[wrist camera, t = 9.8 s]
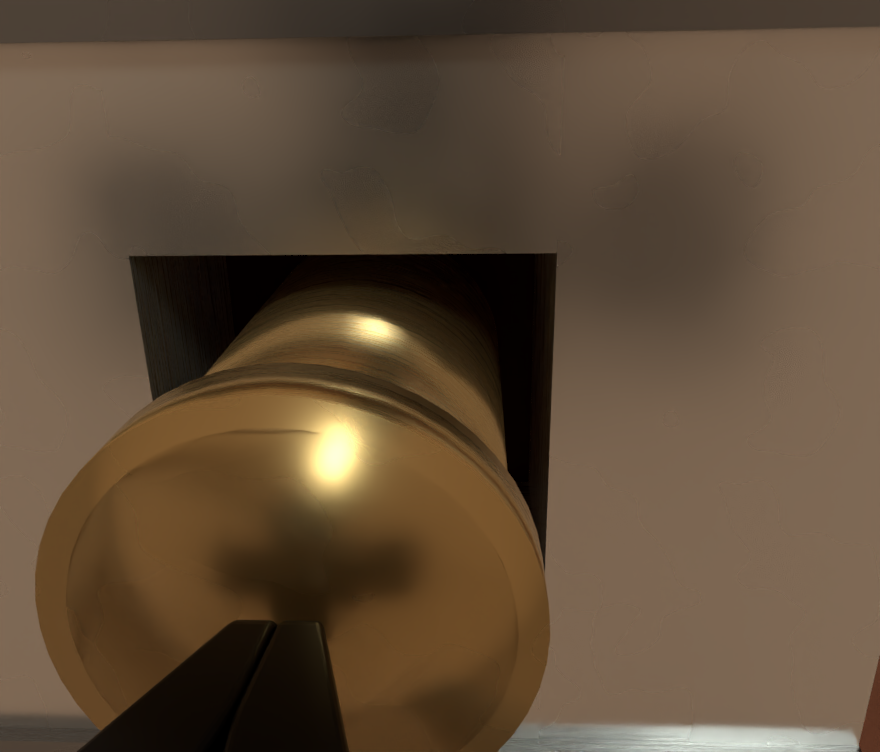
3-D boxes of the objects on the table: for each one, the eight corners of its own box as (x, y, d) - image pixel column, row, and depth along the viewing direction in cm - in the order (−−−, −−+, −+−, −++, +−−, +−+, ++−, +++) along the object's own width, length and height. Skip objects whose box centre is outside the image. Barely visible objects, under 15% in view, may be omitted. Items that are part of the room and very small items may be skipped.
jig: (876, -11, 13) (1059, -38, 9) (770, 615, 17) (859, 787, 13) (-114, 10, 13) (-366, -7, 9) (35, 605, 18) (-93, 765, 14)
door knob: (517, 215, 14) (560, 397, 7) (511, 466, 16) (541, 824, 9) (236, 217, 14) (-19, 395, 7) (263, 465, 16) (85, 812, 9)
